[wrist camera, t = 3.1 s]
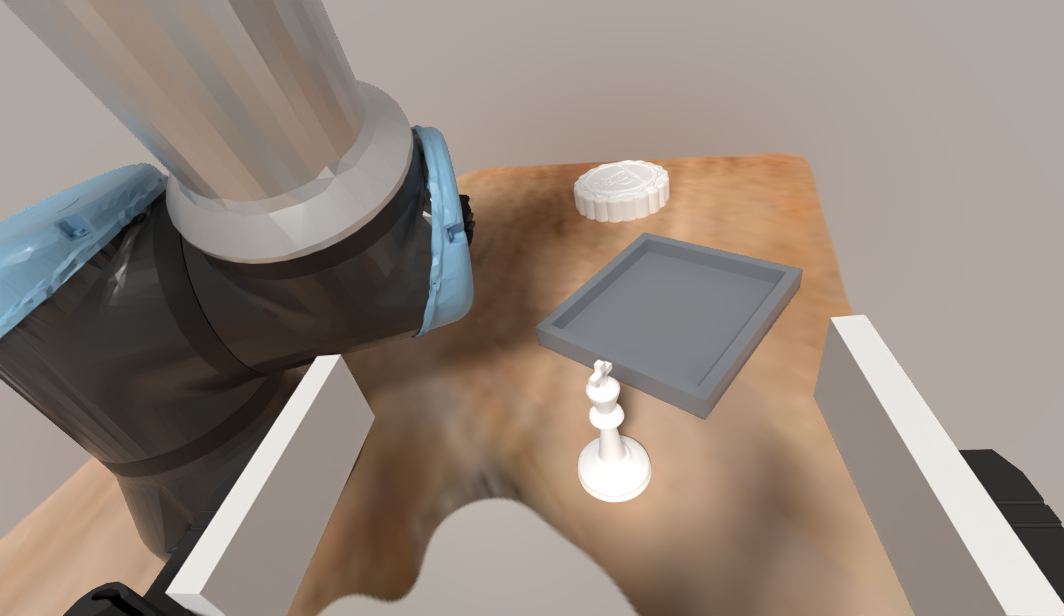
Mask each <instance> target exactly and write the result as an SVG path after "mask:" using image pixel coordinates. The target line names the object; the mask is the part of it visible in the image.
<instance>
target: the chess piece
mask: <svg viewBox="0 0 1064 616" xmlns="http://www.w3.org/2000/svg"><path fill="white" fill-rule="evenodd" d="M594 369H595V373H594V374H593V375H592V376H591V377H590V379H589V382H588V383H587V385H586V394H587V396H588V398H589V399H590V401H591V402H592V403H593V405H594V406H593V407H592V408H591V410H590V413H589V419H590V422H591V423H592V424H593V425H594V426H595V427H597V428H599V429H600V437H598V438H596V439H594V440H593V441H591V442H590V443H589V444H587V445H586V446H585V448H584V449H583V450H582V452H581V454H580V457H579V460H578V476H579V480H580V482H581V484H582V486H583V487H584V489H585V490H586V491H587V492H588V493H589V494H591V495H592V496H594V497H596V498H598V499H600V500H603V501H607V502H622V501H627V500H630V499H632V498H634V497H636V496H637V495H639V494H640V493H641V492H642V491H643V490H644V489H645V488H646V486H647V485H648V483H649V481H650V478H651V463H650V460H649V457H648V454H647V452H646V451H645V449H644V448H643V447H642V446H641V445H640V444H639V443H638V442H637V441H635V440H633V439H631V438H629V437H626V436H623V435H619V432H618V429H617V426H619V425H620V424H621V423H622V421H623V419H624V412H623V409H622V408H621V406H620V405H619V404H617V403H616V401H617V398H618V396H619V393H620V385H619V383H618V381H617V380H616V379H614V378H612V377H610V376H606V375H607V374H608V373H609V372H610V371H611V369H612V363H609V362H607V361H604V362H603V361H600V360H597V361H596V362H595V364H594Z"/></svg>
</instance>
